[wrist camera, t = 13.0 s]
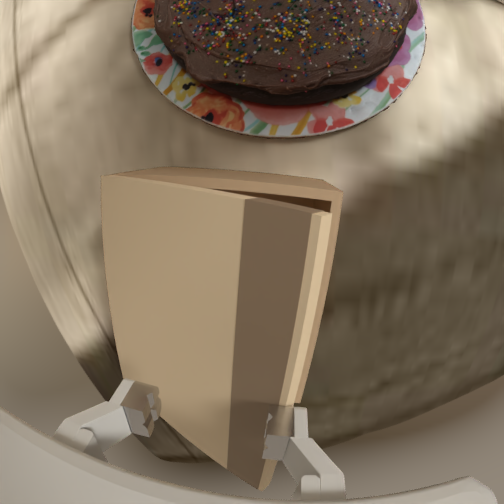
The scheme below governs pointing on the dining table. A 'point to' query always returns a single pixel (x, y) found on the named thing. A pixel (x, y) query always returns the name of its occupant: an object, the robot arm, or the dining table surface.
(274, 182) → the carton
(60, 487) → the robot arm
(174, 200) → the lid
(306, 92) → the chocolate cake
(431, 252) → the dining table surface
